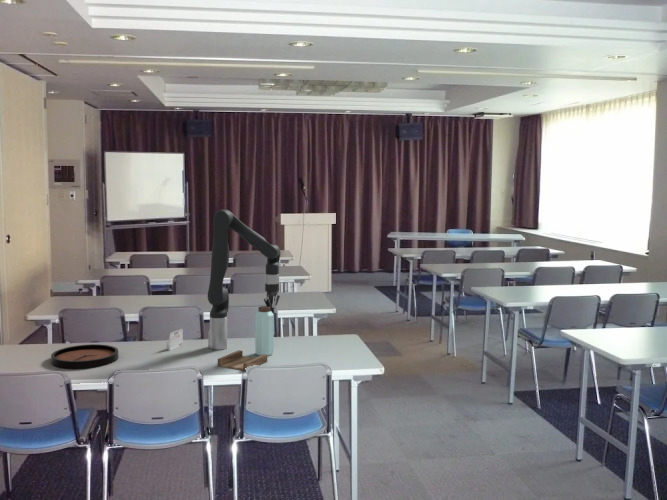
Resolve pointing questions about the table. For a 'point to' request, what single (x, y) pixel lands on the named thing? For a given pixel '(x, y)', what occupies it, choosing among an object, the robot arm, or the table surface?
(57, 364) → the wall clock
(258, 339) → the water bottle
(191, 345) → the table surface
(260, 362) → the cradle
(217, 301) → the robot arm
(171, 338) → the ink cartridge box
